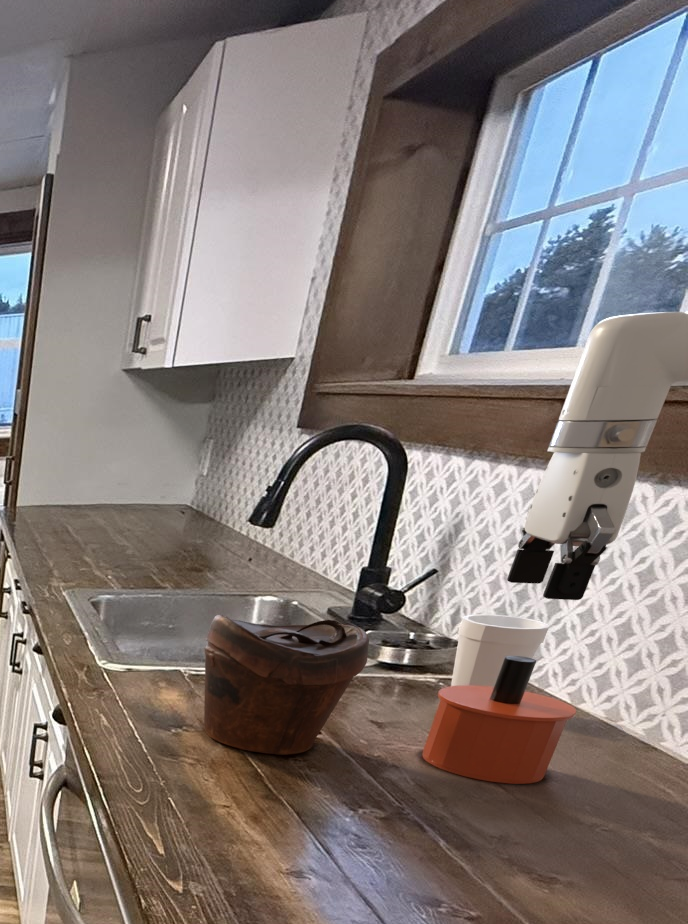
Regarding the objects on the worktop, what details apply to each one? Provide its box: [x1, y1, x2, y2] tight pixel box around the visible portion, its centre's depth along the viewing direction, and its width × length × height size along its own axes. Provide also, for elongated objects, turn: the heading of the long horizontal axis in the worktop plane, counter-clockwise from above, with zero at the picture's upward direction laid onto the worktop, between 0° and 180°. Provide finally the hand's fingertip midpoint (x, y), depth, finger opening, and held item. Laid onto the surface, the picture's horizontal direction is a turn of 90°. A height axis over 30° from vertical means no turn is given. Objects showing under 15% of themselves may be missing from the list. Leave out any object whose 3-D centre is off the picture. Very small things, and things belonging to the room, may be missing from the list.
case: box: [203, 614, 370, 756], centre depth 115 cm, size 18×20×18 cm
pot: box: [422, 699, 568, 785], centre depth 106 cm, size 12×12×8 cm
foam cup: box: [450, 613, 550, 687], centre depth 126 cm, size 10×9×13 cm
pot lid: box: [437, 656, 577, 721], centre depth 103 cm, size 13×13×7 cm
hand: (541, 590), depth 98 cm, fingers open, 9 cm apart
